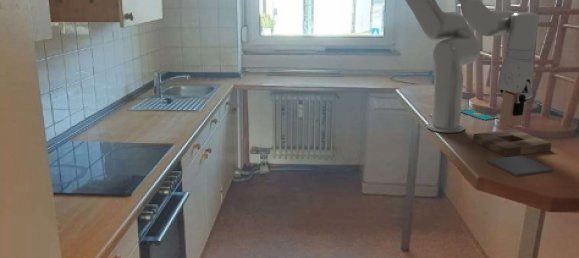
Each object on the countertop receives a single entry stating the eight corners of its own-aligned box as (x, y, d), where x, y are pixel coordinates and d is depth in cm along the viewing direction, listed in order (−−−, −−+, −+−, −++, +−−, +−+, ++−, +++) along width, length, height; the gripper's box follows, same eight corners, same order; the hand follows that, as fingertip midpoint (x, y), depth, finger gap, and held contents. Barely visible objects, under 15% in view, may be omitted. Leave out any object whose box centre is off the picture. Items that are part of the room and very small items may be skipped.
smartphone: (483, 119, 187) (457, 110, 200) (483, 121, 187) (457, 112, 201) (499, 117, 189) (472, 108, 203) (499, 119, 189) (472, 110, 203)
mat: (487, 161, 145) (487, 159, 144) (521, 157, 148) (522, 155, 148) (515, 176, 134) (515, 174, 133) (552, 170, 137) (553, 168, 136)
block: (499, 122, 158) (503, 91, 155) (511, 121, 159) (515, 90, 156) (509, 126, 154) (513, 94, 151) (521, 125, 155) (525, 93, 152)
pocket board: (472, 141, 163) (473, 133, 163) (514, 136, 167) (515, 129, 167) (505, 156, 149) (506, 148, 148) (550, 150, 153) (551, 143, 152)
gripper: (490, 51, 157) (484, 107, 162) (529, 59, 141) (520, 121, 147) (511, 49, 159) (503, 105, 164) (551, 58, 143) (541, 119, 149)
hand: (511, 112), depth 156 cm, fingers closed on block, 4 cm apart
